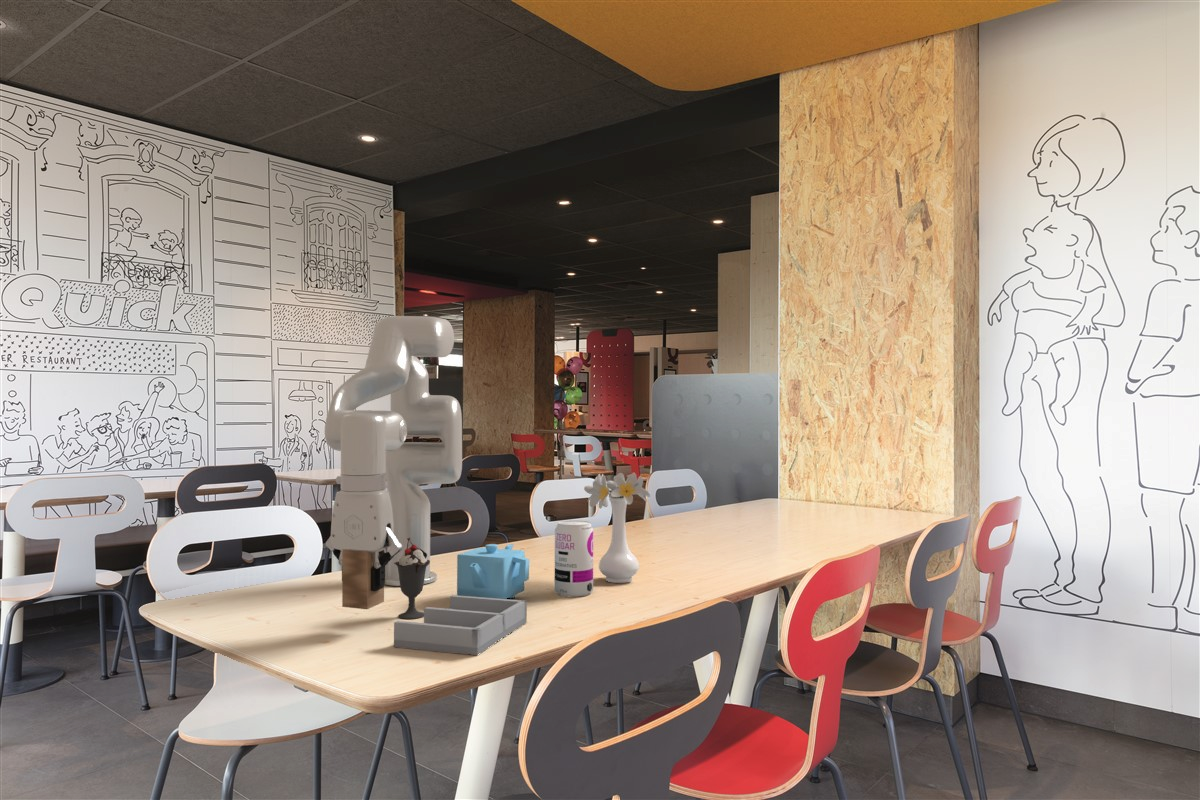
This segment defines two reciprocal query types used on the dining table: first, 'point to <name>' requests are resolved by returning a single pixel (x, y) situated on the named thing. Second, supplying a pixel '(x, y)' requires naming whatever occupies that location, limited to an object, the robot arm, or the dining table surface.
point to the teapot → (492, 572)
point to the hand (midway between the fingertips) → (363, 587)
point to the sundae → (412, 578)
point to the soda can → (574, 558)
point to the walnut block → (358, 581)
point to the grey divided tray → (462, 625)
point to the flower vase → (617, 523)
